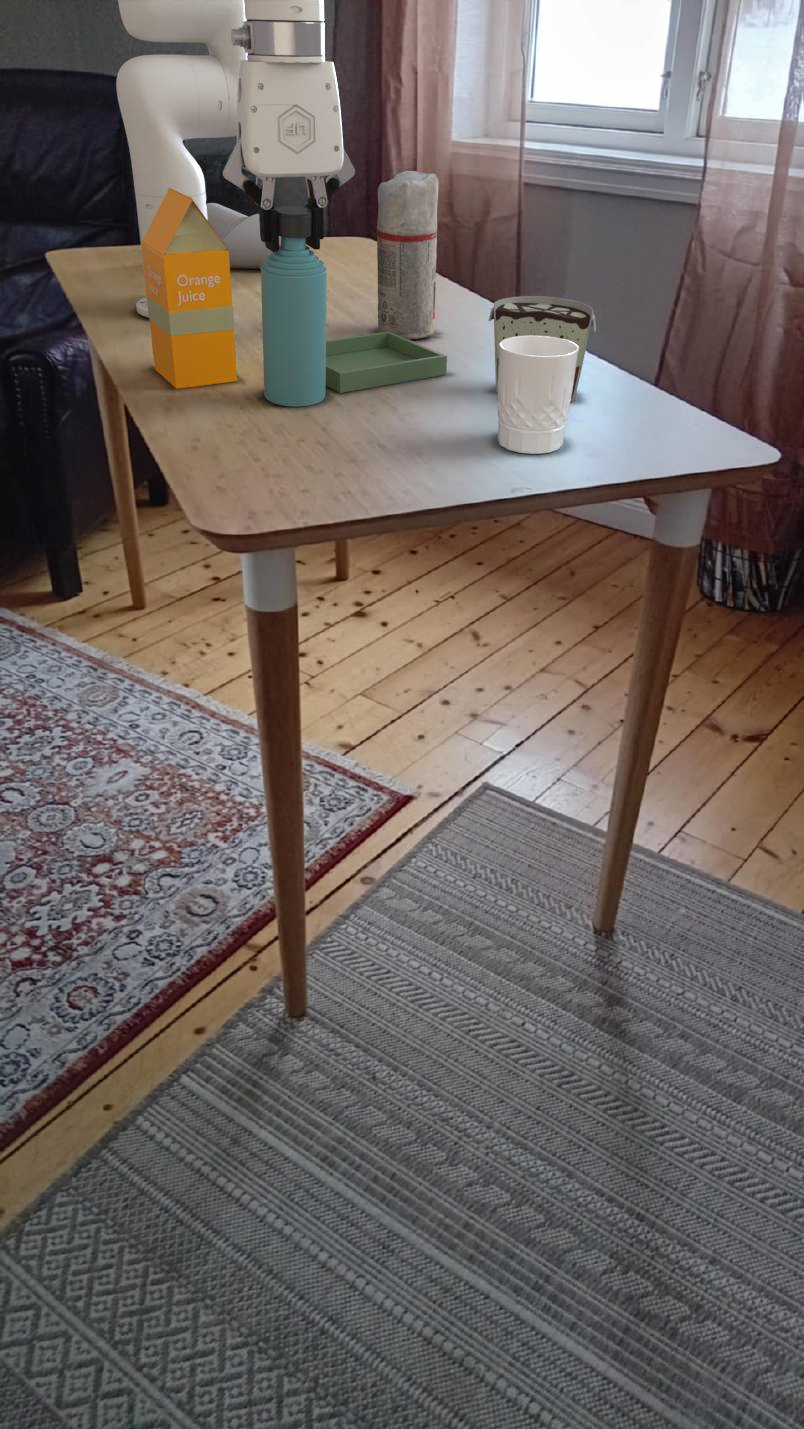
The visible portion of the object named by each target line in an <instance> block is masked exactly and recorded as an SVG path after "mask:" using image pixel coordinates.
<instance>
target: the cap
mask: <svg viewBox="0 0 804 1429" xmlns="http://www.w3.org/2000/svg"><path fill="white" fill-rule="evenodd" d="M274 209H275V210H277V211H278V225H279V236H281V237H285V238H306V237H309V236H311V235H312V211H311V210H310V209H309V208H305V207H304V206H299V205H282V206H276V207H274Z"/></svg>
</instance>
